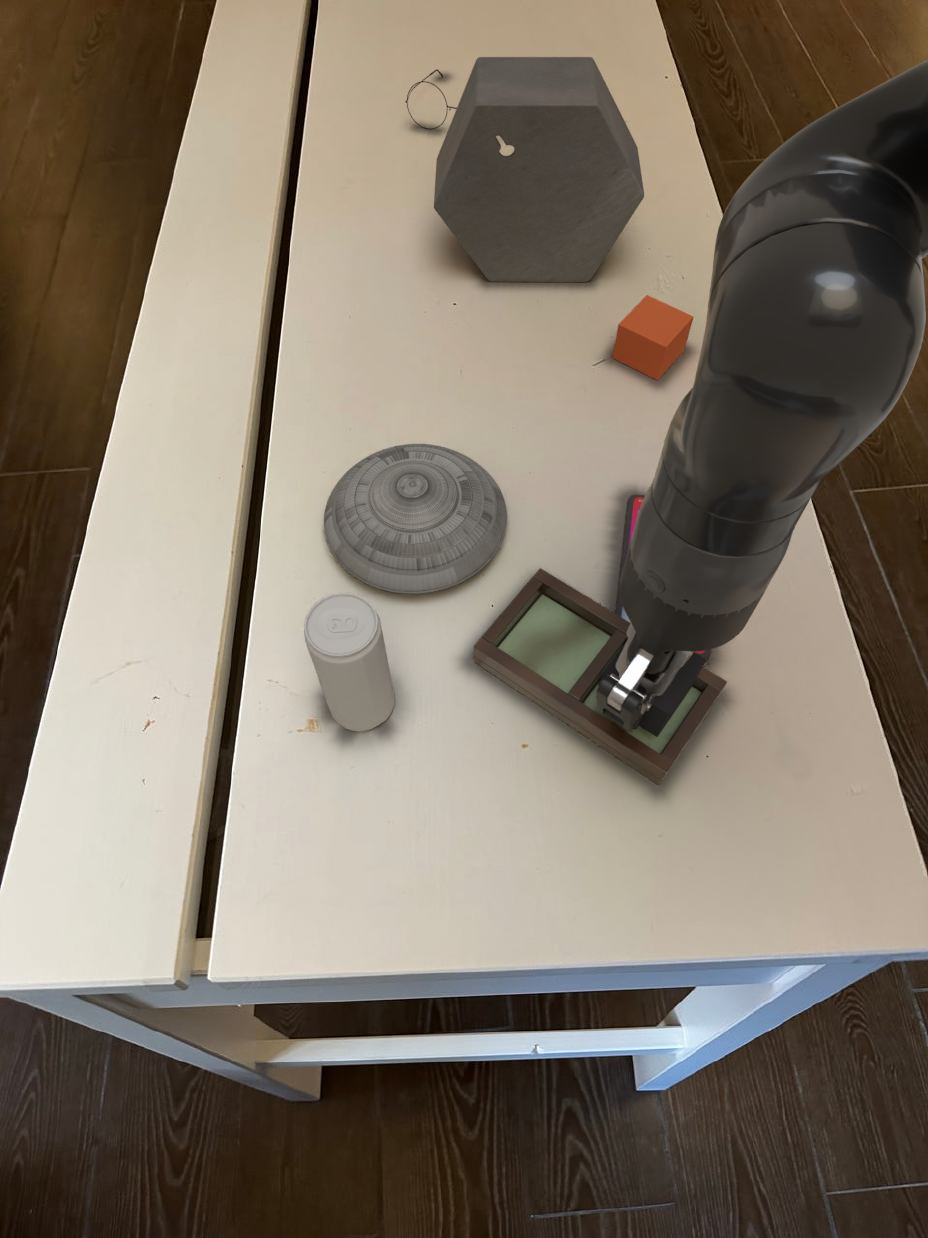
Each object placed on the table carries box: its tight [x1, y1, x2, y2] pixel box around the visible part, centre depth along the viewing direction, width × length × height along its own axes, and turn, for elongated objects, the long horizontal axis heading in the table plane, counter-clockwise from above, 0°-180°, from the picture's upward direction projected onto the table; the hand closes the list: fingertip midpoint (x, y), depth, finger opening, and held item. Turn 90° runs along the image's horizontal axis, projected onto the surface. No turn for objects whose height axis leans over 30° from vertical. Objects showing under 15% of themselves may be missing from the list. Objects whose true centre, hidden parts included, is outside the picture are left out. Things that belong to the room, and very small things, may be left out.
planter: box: [433, 56, 645, 283], centre depth 80 cm, size 17×8×21 cm
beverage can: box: [303, 591, 396, 732], centre depth 57 cm, size 5×5×12 cm
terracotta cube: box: [611, 294, 695, 381], centre depth 78 cm, size 5×5×4 cm
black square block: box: [596, 641, 707, 737], centre depth 58 cm, size 5×5×4 cm
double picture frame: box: [473, 567, 728, 786], centre depth 62 cm, size 16×9×2 cm, turn 53°
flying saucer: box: [323, 443, 508, 595], centre depth 68 cm, size 15×15×6 cm
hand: (645, 688), depth 59 cm, fingers closed on black square block, 5 cm apart
